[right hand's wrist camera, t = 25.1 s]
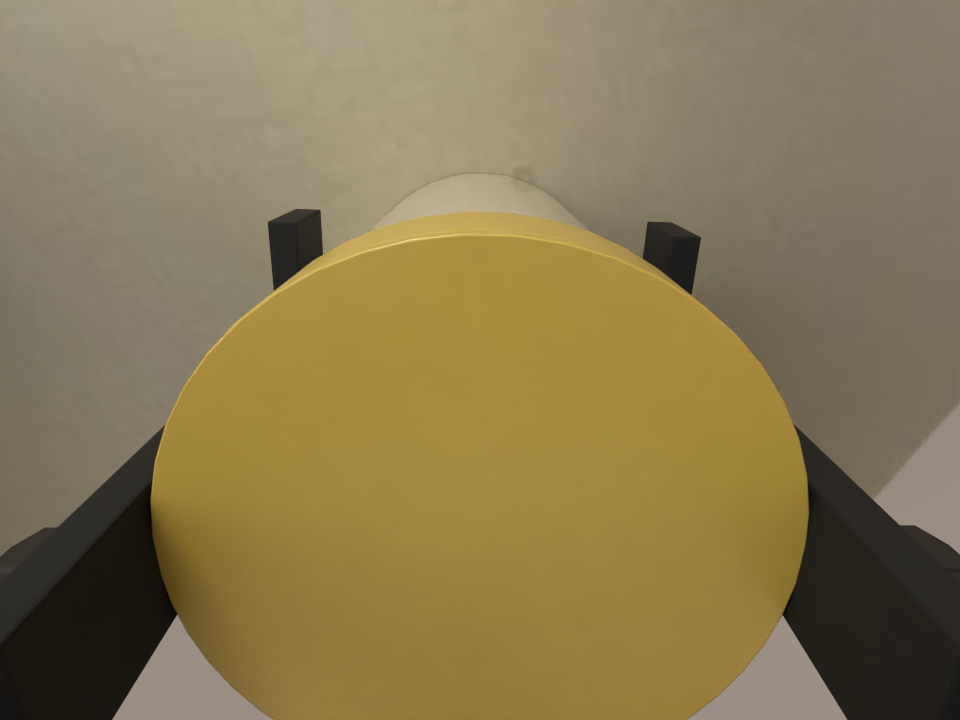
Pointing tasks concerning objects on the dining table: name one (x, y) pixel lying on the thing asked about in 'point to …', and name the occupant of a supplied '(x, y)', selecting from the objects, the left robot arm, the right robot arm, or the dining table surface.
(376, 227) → the jar
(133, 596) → the right robot arm
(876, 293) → the dining table surface
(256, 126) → the dining table surface
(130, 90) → the dining table surface
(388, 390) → the lid
